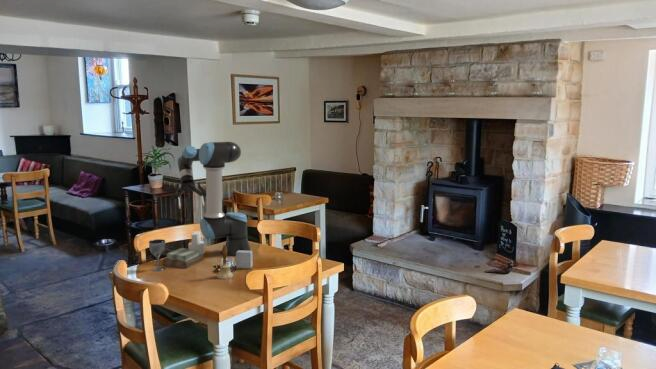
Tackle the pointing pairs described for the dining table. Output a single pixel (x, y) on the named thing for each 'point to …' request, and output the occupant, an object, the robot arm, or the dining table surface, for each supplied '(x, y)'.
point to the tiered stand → (183, 258)
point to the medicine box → (244, 259)
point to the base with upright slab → (197, 242)
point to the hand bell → (224, 266)
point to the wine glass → (157, 251)
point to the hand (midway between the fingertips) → (192, 206)
